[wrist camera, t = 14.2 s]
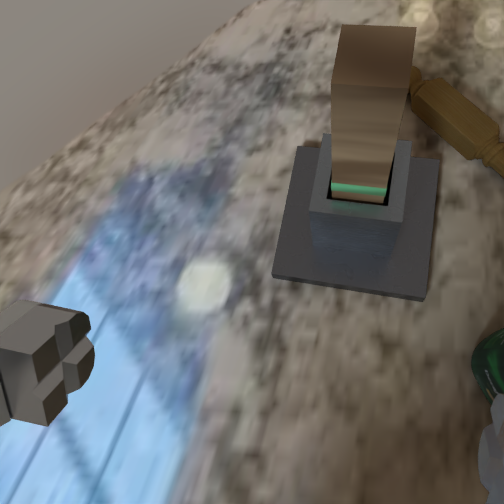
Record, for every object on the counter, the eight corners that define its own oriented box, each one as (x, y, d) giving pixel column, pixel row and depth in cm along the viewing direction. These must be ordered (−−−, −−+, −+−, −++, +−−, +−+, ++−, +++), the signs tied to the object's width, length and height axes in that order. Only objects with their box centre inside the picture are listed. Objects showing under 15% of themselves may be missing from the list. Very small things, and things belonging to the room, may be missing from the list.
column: (381, 211, 38) (409, 89, 24) (331, 205, 39) (329, 84, 25) (387, 166, 40) (417, 26, 25) (338, 162, 40) (341, 23, 26)
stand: (422, 301, 43) (445, 271, 34) (273, 278, 46) (258, 244, 37) (436, 167, 47) (460, 109, 38) (298, 153, 50) (290, 96, 41)
